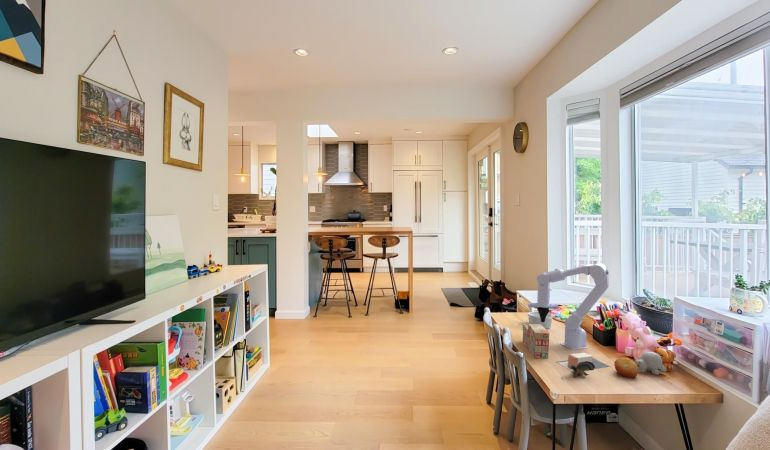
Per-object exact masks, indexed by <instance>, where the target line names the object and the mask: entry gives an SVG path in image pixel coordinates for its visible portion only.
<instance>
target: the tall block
mask: <svg viewBox="0 0 770 450" xmlns="http://www.w3.org/2000/svg"><path fill="white" fill-rule="evenodd" d="M567 358H568V359H567V360H568V364H573V365H574V366H575V367H577V365H578V363H580V362H585V361H589V362H591V363H592V358H593V355H591V354H588V353H587V352H581V353H580V352H579V353H571V354H569V353H568V357H567Z"/></svg>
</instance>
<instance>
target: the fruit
mask: <svg viewBox="0 0 770 450" xmlns="http://www.w3.org/2000/svg"><path fill="white" fill-rule="evenodd" d="M614 369H615V371H616V373H618V375H619V376H621V377H624V378H636V377H637V376H638V366H637V364H636V363H635V360H633V359H631V358H629V357H619V358H617V359H616V360H615V361H614Z"/></svg>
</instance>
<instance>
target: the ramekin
mask: <svg viewBox="0 0 770 450" xmlns="http://www.w3.org/2000/svg"><path fill="white" fill-rule="evenodd" d="M527 316H528V317H527V318H528V324H540V325H542V326H543V327H544V328H545V329H546V330H548V329H550V328H551V326H552V320H553V315H552V314H550V313H548V314H547V316H546V319H545V322H541V319H540V315H539V312H538V311H529V312H528V313H527Z"/></svg>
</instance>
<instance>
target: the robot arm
mask: <svg viewBox="0 0 770 450" xmlns="http://www.w3.org/2000/svg"><path fill="white" fill-rule="evenodd" d="M581 274H583V275H587V276H589V275H590V277H591V278H592V280H593V281H594V284H595V286H594V287H593V288H592V290H590V292H589V294H588V295H587V296H586V297H585V298H584V300H583V301H582V302H581V304H580V305H579V306H578V307H577V309H575V311H574V312H573V313H571V314H569V316H568V317H567V318H565V319H564V322H563V323H564V342H560V346H561V345H562V346H564V347H566V348H568V349H569V350H581V349H582V350H583V349H588V346H587V335H588V334H587V331H586V330H585V329H583V328H582V327H581V325H582V324H583V321H584V318H585V317H586V315H587V314H588V313H589V311H590V310H592V308H593V307H594V305H595V304H596V303H597V302H598V300H599V299H600V298H601V297H602V295H604V293H605V292H606V291H607V290H608V288H609V275H610V274H609V270H608V267H607V266H606V265H605V264H604V263H601V262H598V263H597V262H596V263H594V264H593V263H589V264H584V265H579V266H576V267H573V268H569V269H566V270H564V269H561V268H558V267H557V268H555V269H554V270H551V271H549V270H547V271H545V272H542V273H540V274H538V276H537V277H536V281H537V297H536V298H537V301H536V302H528V303H527V307H528V308H536V309H537V312H539V315H540V319H541V322H545V319H546V316H547V314H550V313H549V312H550V310H551V309H552V310H553V309H554V310H559V307H560V306H559V305H558V304H553V303H550V290H551V288H550V286H551V285H550V283H552V284H553V283H556V282H557V283H558V282H561V281H565V280H566V278H568V277H573V276H577V275H581Z"/></svg>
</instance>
